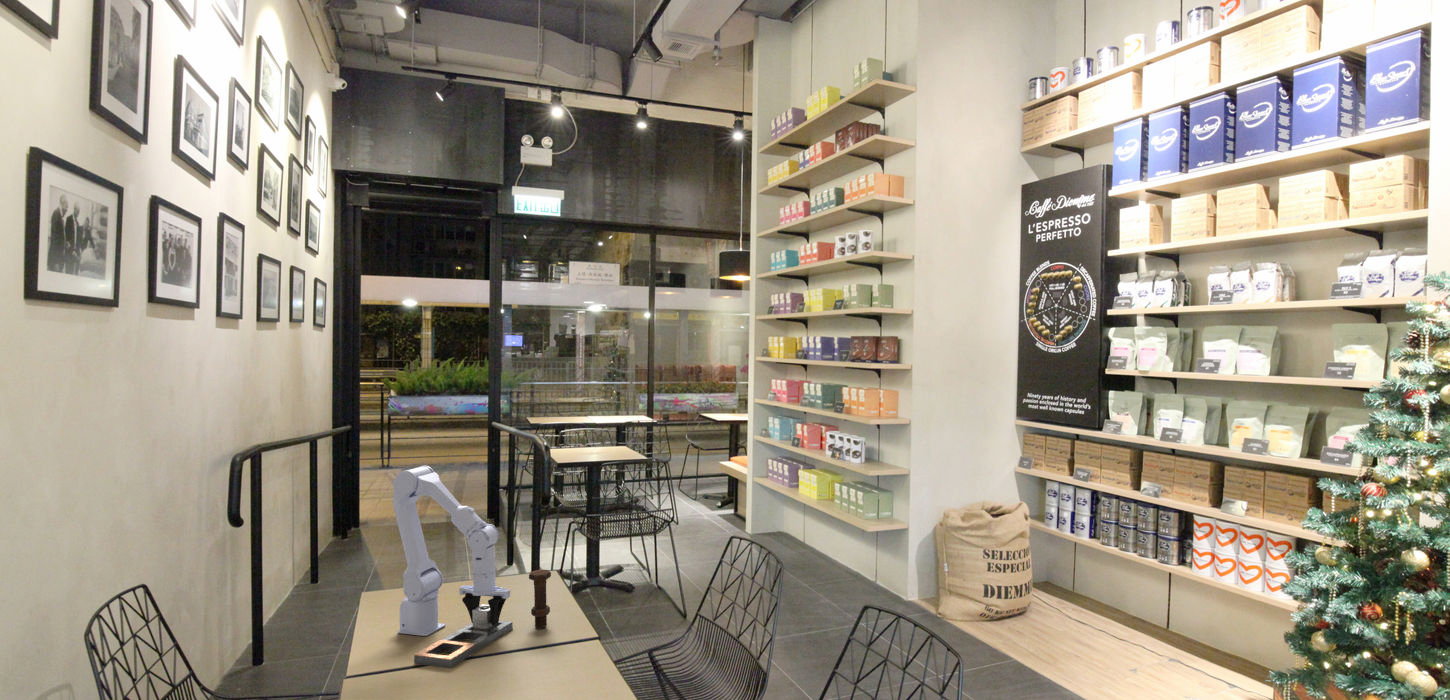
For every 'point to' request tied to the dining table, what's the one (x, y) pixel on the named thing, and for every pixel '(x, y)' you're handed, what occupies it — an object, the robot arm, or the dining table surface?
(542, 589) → the bolt
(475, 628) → the grey rectangular block
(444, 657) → the frame with rectangular openings
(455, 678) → the dining table surface
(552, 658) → the dining table surface
